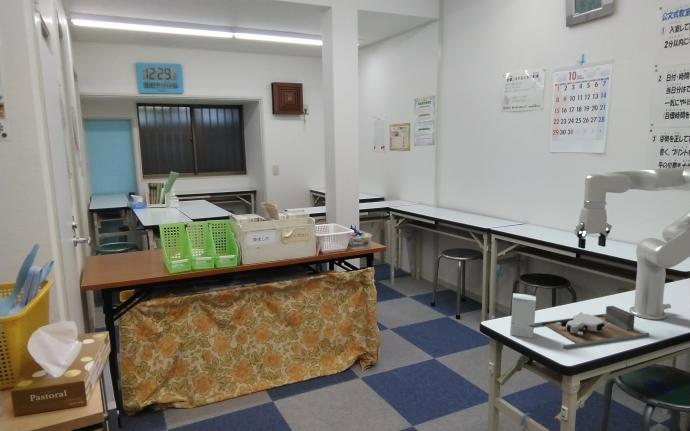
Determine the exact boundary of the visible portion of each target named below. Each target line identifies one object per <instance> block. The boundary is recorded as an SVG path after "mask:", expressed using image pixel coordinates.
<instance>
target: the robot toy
mask: <svg viewBox="0 0 690 431" xmlns="http://www.w3.org/2000/svg"><path fill="white" fill-rule="evenodd" d="M572 318H573V320H571V321H569V322H567V321H561V323H560V322H557V323H556V324H557V325H558V326H562V327H563V326H566V330H567V331H569V332H571V333H575V334H579V335H584V334H585V330H589V331H593V332H597V331H600V330H603V329H604V328H605V327H606V326H608V325H610V323H609V324H607V325H606V326H605V322H604V321H603V320H602V319H600V318H598V317H596V316H593V314H588V313H583V311H581V312H580V313H578V314H576V315H574V316H573V317H572Z"/></svg>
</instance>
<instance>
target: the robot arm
mask: <svg viewBox="0 0 690 431" xmlns="http://www.w3.org/2000/svg"><path fill="white" fill-rule="evenodd" d="M584 181H585V182H584V196H583V208H581V210H580V214H579V219H578V224H577V225H576V226H575V227H574V228H573V231H574V235H575V236H576V237H577V238H578V242H577V243H578V244H577V245H578V246H577V248H580V249H583V250H584V249H585V248H586V244H587V242H586V241H587V240H586V236H587V235H592V234H593V235H594V234H599V235H598V242H597V245H598V246H599V247H603V248H604V247H606V246H607V241H606V240H607V237H608V236H609V234H610V233H611V230H612V228H613V225H611V224H610V223H608V217H607V216H608V215H607V209H606V205H607V201H606V200H607V193H611V194H612V193H613V194H623V193H626V192H627V191H629V190H639V191H646V192H648V191H649V192H652V191H654V192H658V191H670V190H684V189H685V190H686V189H687V190H690V166H681V167H680V166H677V167H668V168H667V167H666V168H654V169H641V170H627V171H625V170H624V171H614V172H606V173H604V174H597V173H595V174H588V175H586V176H585V179H584ZM661 235H662V239H663V240H661V239H659V238H654V237H648V238H647V237H646V238H644V239H642V240H640V241H639V243H638V244H637V246H636V249H635V250H636V251H635V254H636V261H637V264H636V265H637V269H636V279H635V280H636V281H635V292H634V293H635V294H634V304H633V306H631V307H629V311H628V312H629V313H631V314H634V315H635V316H636V317H639V318H643V319H647V320H655V321H656V320H657V321H658V320H664V319H666V318H667V313H666V312H665V310H668V309H671V308H672V305H671V303H665V304H664V295H665V294H664V293H665V286H666V285H665V283H666V274H667V273H666V271H667V270H666V269H670V268H674V267H676V266H678V265H680V264H682V262H684V261H686V260H687V259H688V258H690V210H688V211H687V212H686V213H685V214H684V215H682V216H681V217H679V218H678V219H676V220H675V221H673V222H672V223H671V224H669V225H667V226H666V227H665V228H664V229H663V230H662V233H661Z"/></svg>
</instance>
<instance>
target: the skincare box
mask: <svg viewBox="0 0 690 431" xmlns="http://www.w3.org/2000/svg"><path fill="white" fill-rule="evenodd" d="M536 304H537V296H536V295H530V294H525V293H516V292H514V293H512V303H511V318H510V332H509V335H510V336H513V335H514V337H521V338H529V339H534V329H535V327H534V323H535V318H536V306H537V305H536Z"/></svg>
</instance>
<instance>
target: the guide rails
mask: <svg viewBox="0 0 690 431" xmlns="http://www.w3.org/2000/svg"><path fill="white" fill-rule="evenodd" d="M592 315H593V314H592ZM593 316H596V317H603V316H605V317H606V313H601V314H594V315H593ZM571 320H573V317H570V318H569V317H568V318H563V319H554V320H548V321H540V322H534V328H535V327H542V326H545V324H551V323H557V322H561V321H571ZM647 337H650V332H644V333H643V332H642V334H636V335H629V336H622V337H616V338H609V339H602V340H595V341H589V342H582V343H571V344H569V343H568V344H564V345H563V346H562V348H563V349H564V350H567V349H574V348H583V347H586V346H594V345H595V346H596V345H601V344H607V343H613V342H621V341H627V340H634V339H639V338H647Z"/></svg>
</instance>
